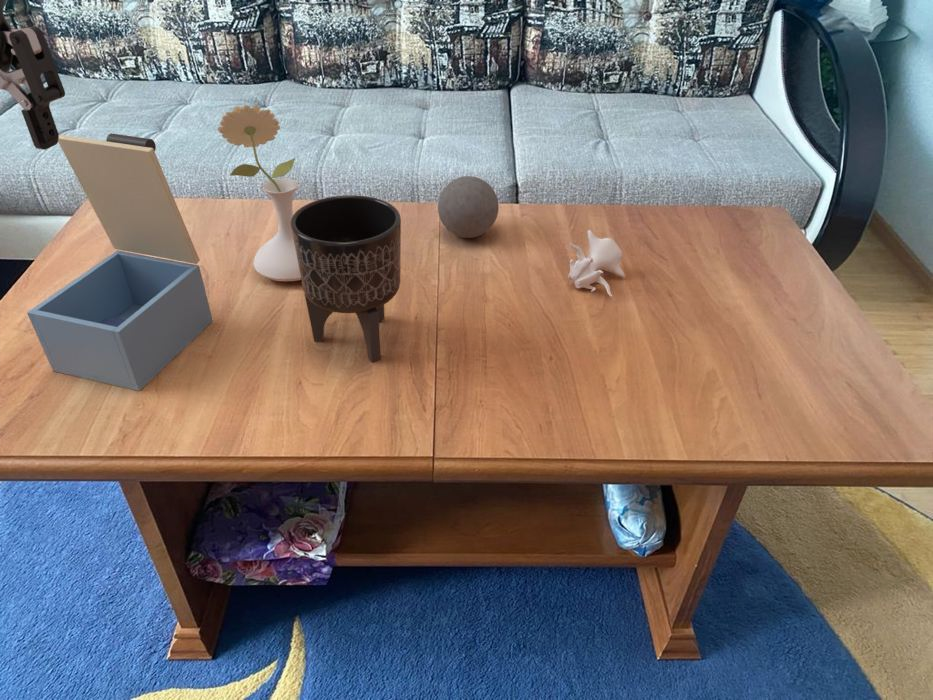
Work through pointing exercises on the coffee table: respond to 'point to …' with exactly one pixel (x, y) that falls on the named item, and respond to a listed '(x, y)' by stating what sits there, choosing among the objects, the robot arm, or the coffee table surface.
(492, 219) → the decorative ball
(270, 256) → the flower in vase
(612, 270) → the figurine
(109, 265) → the light blue open box
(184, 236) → the lid
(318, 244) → the planter
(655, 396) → the coffee table surface
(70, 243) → the coffee table surface
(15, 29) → the robot arm
